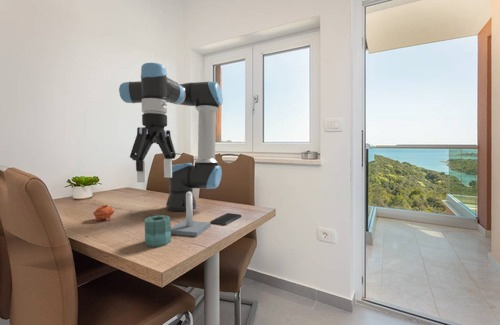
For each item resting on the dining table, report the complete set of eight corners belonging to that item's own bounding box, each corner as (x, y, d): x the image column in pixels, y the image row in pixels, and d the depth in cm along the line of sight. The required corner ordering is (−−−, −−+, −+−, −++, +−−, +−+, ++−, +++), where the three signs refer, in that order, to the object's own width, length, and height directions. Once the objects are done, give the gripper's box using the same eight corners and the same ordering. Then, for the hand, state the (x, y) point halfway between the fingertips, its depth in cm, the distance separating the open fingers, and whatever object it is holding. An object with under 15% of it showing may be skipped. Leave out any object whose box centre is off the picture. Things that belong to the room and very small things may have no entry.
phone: (242, 214, 113) (225, 223, 99) (242, 217, 113) (225, 226, 99) (227, 212, 116) (208, 221, 103) (227, 215, 116) (208, 224, 103)
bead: (155, 237, 87) (154, 214, 86) (174, 239, 85) (174, 216, 84) (140, 245, 79) (139, 220, 79) (161, 247, 77) (160, 222, 77)
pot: (120, 217, 111) (116, 203, 109) (105, 226, 104) (101, 211, 102) (106, 214, 114) (103, 201, 112) (91, 223, 107) (87, 209, 105)
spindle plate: (183, 223, 102) (182, 188, 101) (210, 226, 99) (210, 189, 98) (166, 233, 90) (165, 193, 89) (196, 236, 87) (196, 195, 86)
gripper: (137, 106, 66) (139, 185, 68) (184, 118, 91) (185, 176, 92) (114, 108, 68) (116, 184, 69) (166, 119, 92) (167, 175, 94)
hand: (156, 179), depth 81 cm, fingers open, 13 cm apart
